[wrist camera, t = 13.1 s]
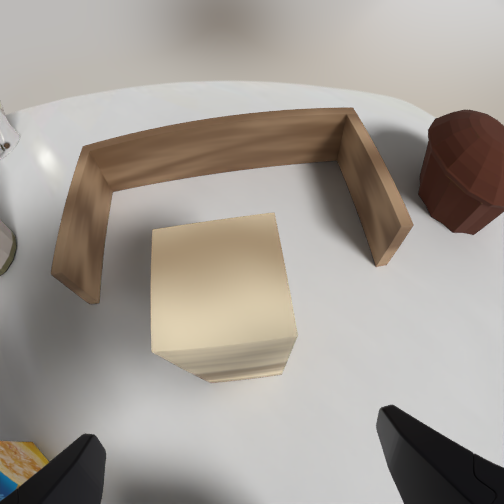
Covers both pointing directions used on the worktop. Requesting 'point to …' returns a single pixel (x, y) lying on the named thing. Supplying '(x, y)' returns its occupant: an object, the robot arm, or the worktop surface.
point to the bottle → (6, 247)
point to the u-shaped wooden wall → (218, 161)
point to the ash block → (222, 298)
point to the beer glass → (7, 135)
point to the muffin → (464, 171)
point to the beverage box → (18, 464)
